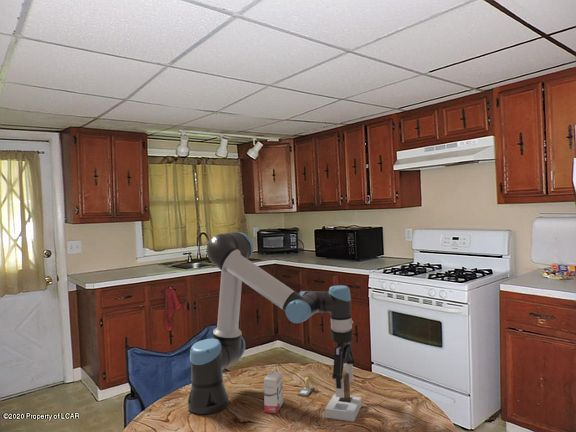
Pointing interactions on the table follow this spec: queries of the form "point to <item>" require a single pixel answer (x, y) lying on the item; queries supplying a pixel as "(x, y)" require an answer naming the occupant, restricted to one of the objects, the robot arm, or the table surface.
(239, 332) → the robot arm
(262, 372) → the table surface
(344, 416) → the socket board
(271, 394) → the ink box
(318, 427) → the table surface
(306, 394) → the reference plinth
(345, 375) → the walnut peg
